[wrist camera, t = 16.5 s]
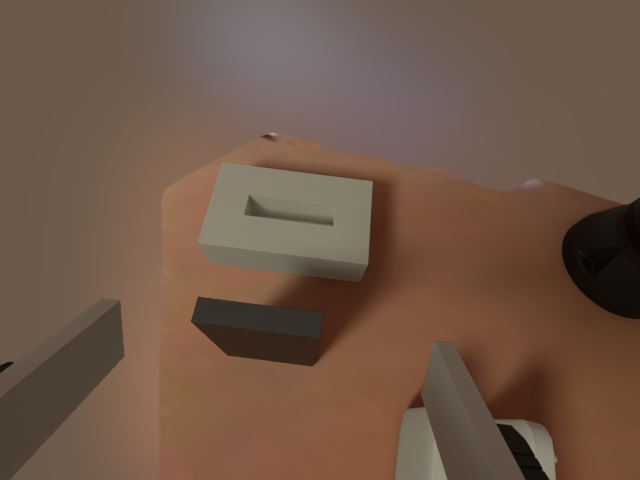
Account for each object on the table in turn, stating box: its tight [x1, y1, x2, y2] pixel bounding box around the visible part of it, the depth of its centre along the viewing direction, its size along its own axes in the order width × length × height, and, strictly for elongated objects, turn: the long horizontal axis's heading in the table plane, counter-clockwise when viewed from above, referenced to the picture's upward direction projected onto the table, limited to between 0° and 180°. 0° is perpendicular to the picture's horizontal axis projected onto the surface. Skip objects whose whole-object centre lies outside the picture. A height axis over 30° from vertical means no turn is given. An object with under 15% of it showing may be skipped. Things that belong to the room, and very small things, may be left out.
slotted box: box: [198, 162, 373, 283], centre depth 46 cm, size 20×12×6 cm, turn 83°
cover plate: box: [191, 297, 323, 366], centre depth 35 cm, size 10×2×16 cm, turn 83°
